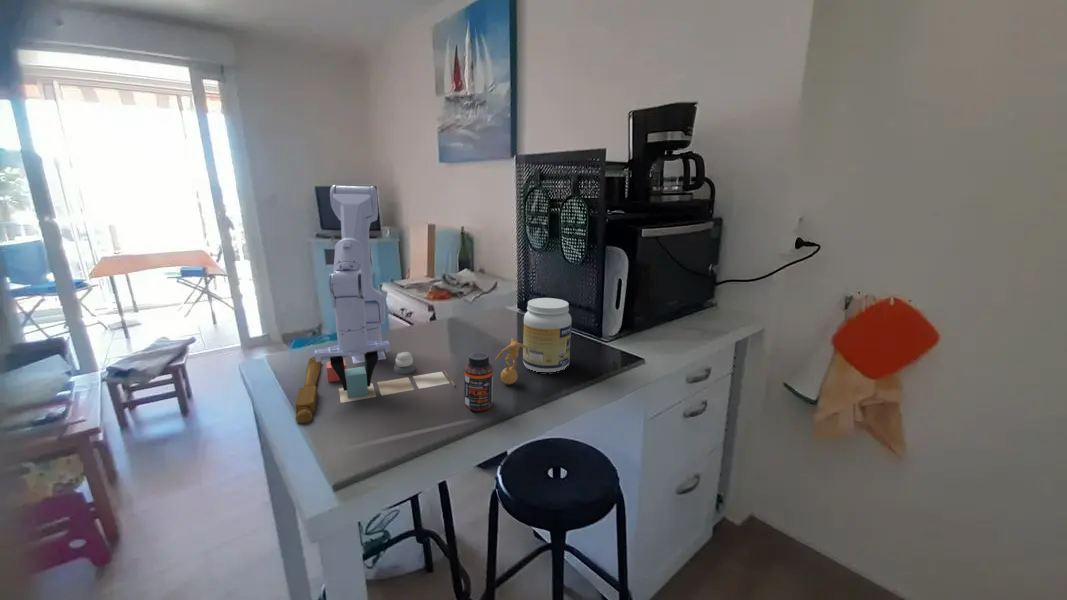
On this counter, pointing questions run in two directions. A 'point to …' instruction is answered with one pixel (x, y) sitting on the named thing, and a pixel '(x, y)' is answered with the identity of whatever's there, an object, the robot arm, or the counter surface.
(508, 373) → the figurine
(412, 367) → the dome base
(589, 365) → the counter surface
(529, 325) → the supplement tub
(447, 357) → the counter surface
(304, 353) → the counter surface
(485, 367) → the supplement bottle
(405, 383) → the game board
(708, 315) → the counter surface
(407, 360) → the dome
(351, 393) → the teal rectangular block
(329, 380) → the red die
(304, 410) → the tap handle
